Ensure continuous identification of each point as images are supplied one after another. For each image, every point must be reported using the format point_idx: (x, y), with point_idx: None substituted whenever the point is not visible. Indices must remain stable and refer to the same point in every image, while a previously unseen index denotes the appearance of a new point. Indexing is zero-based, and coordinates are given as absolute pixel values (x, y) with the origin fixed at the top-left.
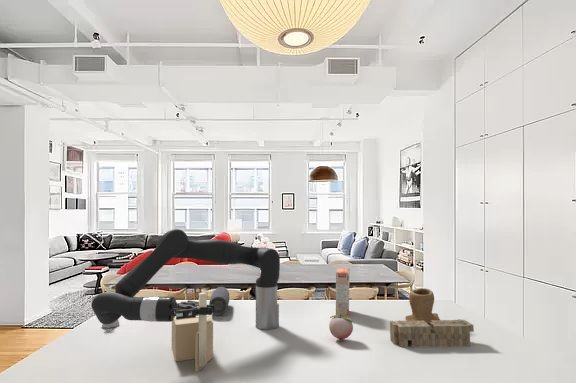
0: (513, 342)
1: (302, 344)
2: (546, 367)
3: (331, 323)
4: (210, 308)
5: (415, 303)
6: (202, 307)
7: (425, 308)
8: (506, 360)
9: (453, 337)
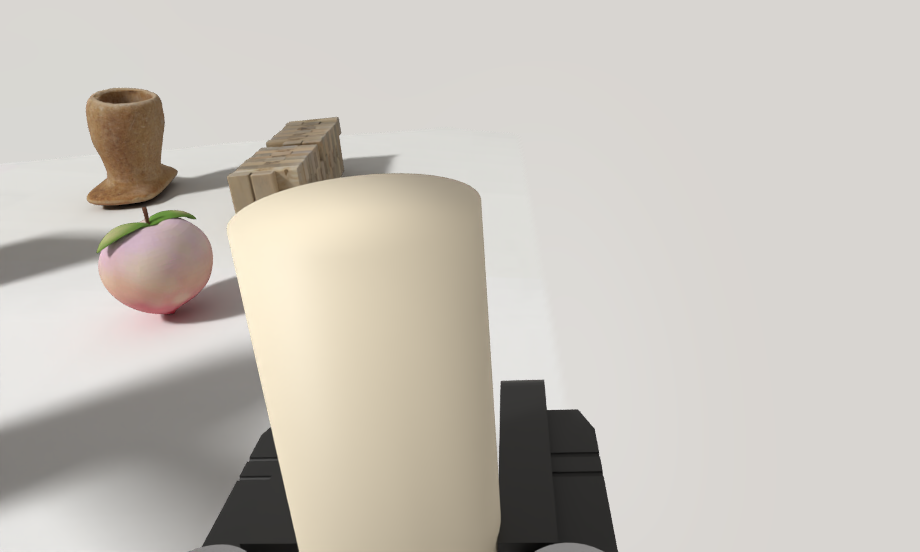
0: (342, 143)
1: (146, 409)
2: (471, 139)
3: (152, 258)
4: (545, 396)
5: (138, 134)
6: (536, 500)
7: (160, 141)
8: (434, 155)
9: (334, 159)
